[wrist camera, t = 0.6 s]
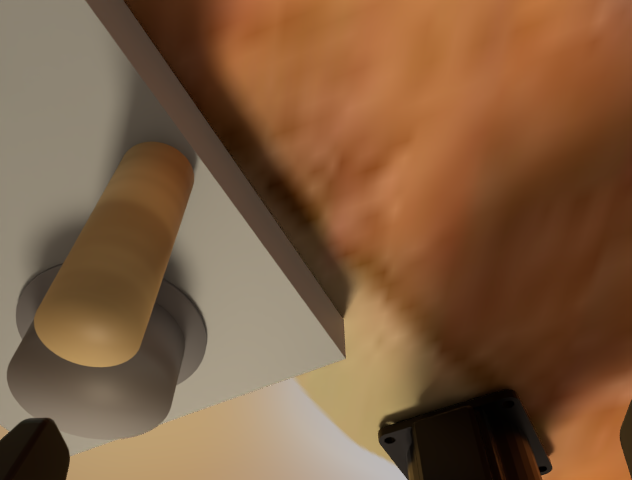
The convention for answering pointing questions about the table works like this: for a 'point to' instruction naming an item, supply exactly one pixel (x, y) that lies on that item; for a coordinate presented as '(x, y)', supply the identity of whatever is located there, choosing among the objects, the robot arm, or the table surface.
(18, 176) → the stand base
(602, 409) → the table surface
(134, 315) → the cam lever
